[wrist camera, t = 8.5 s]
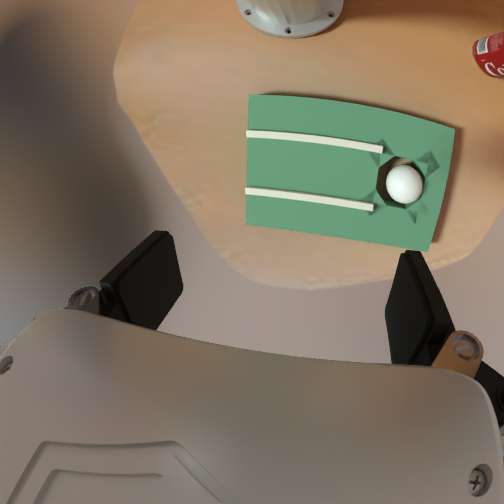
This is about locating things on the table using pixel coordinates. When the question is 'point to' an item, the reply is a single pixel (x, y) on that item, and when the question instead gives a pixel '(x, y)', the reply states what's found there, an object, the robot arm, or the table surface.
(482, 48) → the soda can
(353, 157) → the putting mat
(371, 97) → the table surface
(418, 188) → the ball
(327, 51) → the table surface
